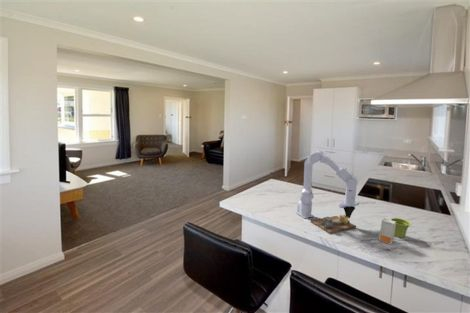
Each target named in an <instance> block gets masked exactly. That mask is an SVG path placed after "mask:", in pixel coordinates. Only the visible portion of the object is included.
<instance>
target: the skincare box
mask: <svg viewBox="0 0 470 313" xmlns="http://www.w3.org/2000/svg"><path fill="white" fill-rule="evenodd" d="M395 226H396V222H395V221H392V220H391V219H388V218H383V219H382V220H381V222H380V231H379V236H378V241H379V242H382V243H386V244H388V245H392V243H393V242H394V238H395V236H394V233H395Z"/></svg>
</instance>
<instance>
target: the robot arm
mask: <svg viewBox="0 0 470 313" xmlns="http://www.w3.org/2000/svg"><path fill="white" fill-rule="evenodd" d="M315 163H316V164H317V163H321V164H326V165H327V166H328V167H330V169H332V170H333V171H335V174H336V175H337V177H338V178H340V179H341V181H343V182H345V184H346V187H345V194H344V195H345V196H344V202H342V203H339V204H338V207H339V209H343V210H344V215H345V216H347V217H348V219H351V216H352V214H353V213H354V211H355V210H356V206H360V202H359V201H357V200H356V195H357V185H358V183H359V182H358V181H359V180H358V178H357V177H356V176H355V175H353V174H351V172H349V171H348V170H347V168H344V167H340V166H339V165H338V164H337V163H336V162H334V161H333V160H332V159H331V158H330V157H329V156H328V155H327V154H326V153H325V152H323V151H322V150H320V149H319V150H315V151H314V152H312V153H310V154H309V155H308V157H307V158H306V159H305V160H304V164H303V165H304V167H303V189H302V191H301V196H300V199H299V200H298V202H297V204H296V206H297V207H296V212H295V214H297V215H298V216H301V218H303V219H308V218H314V217H315V216H314V214H312V210H313V209H312V208H313V201H312V200H313V199H314V194H313V189H312V188H313V187H312V186H313V184H312V183H313V165H314V164H315Z"/></svg>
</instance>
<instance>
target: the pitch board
mask: <svg viewBox="0 0 470 313" xmlns="http://www.w3.org/2000/svg"><path fill="white" fill-rule="evenodd" d="M339 220H340V217H339V216H337V215H335V216H324V217H323V218H316V219H312V220H310V223H311V224H313V225H314V226H316V227H317V226H318V228H320V229H321V230H323V231H324V232H325V233H328V234H334V232H335V233H338V232H343V231H348V230H353V229H356V228H357V225H355V224H353V223H351V222H350V220H349V219H348V224H346V225H343V222H342V221H339Z"/></svg>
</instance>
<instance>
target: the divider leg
mask: <svg viewBox="0 0 470 313" xmlns="http://www.w3.org/2000/svg"><path fill="white" fill-rule="evenodd" d="M338 217H340V220H339V221H342V222H343V225H346V224H348V220H349V218H348V217H347V216H346V215H345V214H342V215H341V214H340V215H339V216H338Z"/></svg>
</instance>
